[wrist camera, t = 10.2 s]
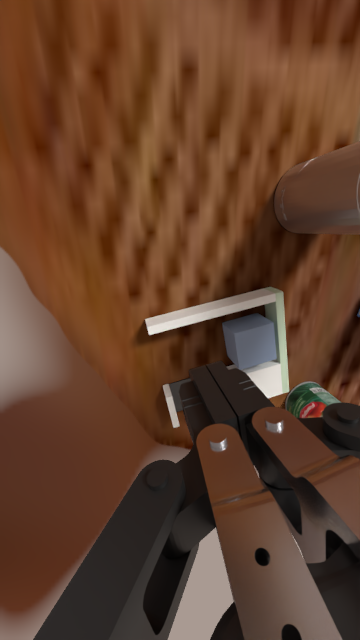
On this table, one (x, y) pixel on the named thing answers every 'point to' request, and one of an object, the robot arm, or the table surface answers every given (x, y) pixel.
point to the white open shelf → (264, 375)
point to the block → (250, 340)
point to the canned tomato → (308, 400)
